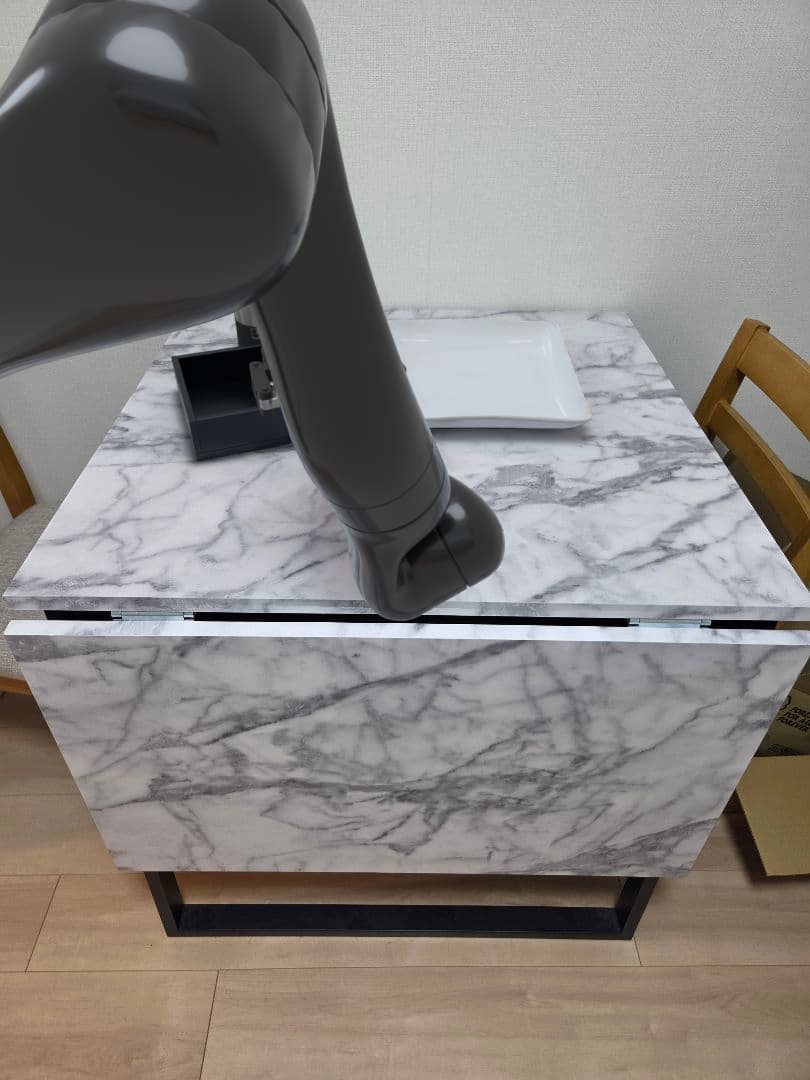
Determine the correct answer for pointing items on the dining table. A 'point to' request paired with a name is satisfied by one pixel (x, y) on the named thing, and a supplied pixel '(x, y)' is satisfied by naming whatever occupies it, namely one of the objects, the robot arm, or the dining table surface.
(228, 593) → the dining table surface
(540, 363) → the square plate
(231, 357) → the black open box
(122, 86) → the robot arm
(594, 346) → the dining table surface
